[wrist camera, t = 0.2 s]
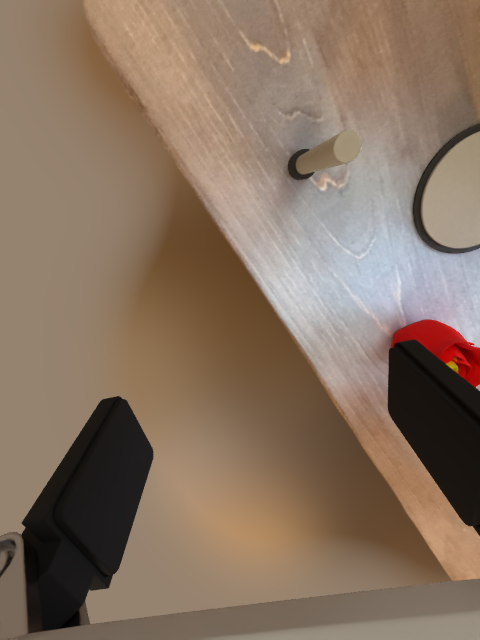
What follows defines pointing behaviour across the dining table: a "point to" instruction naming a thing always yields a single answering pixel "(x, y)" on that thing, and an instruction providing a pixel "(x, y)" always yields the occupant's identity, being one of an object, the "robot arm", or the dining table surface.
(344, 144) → the pen
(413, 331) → the flower
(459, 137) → the beige coaster disc
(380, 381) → the dining table surface
